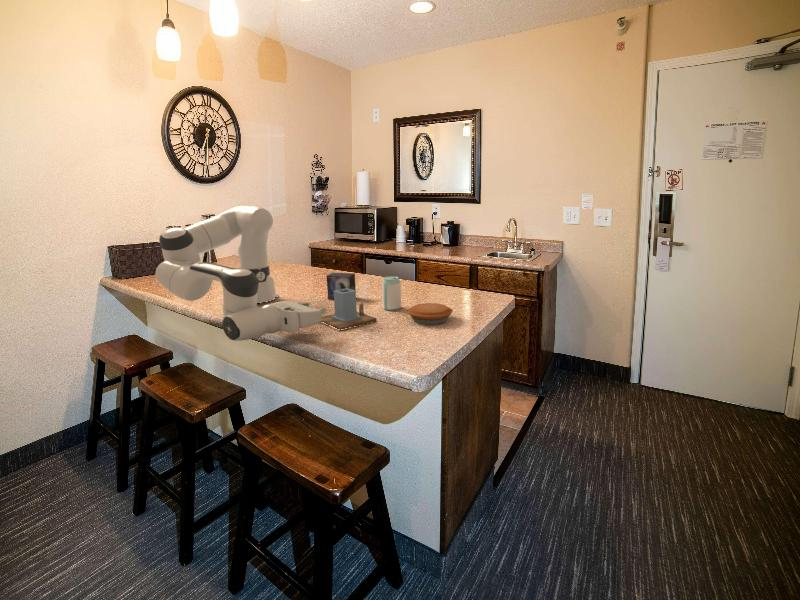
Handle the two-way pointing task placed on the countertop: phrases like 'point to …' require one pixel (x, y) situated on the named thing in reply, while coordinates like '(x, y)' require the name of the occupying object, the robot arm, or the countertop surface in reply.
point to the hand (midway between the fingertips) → (316, 307)
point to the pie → (430, 313)
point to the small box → (339, 282)
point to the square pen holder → (345, 305)
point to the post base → (357, 322)
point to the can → (391, 293)
